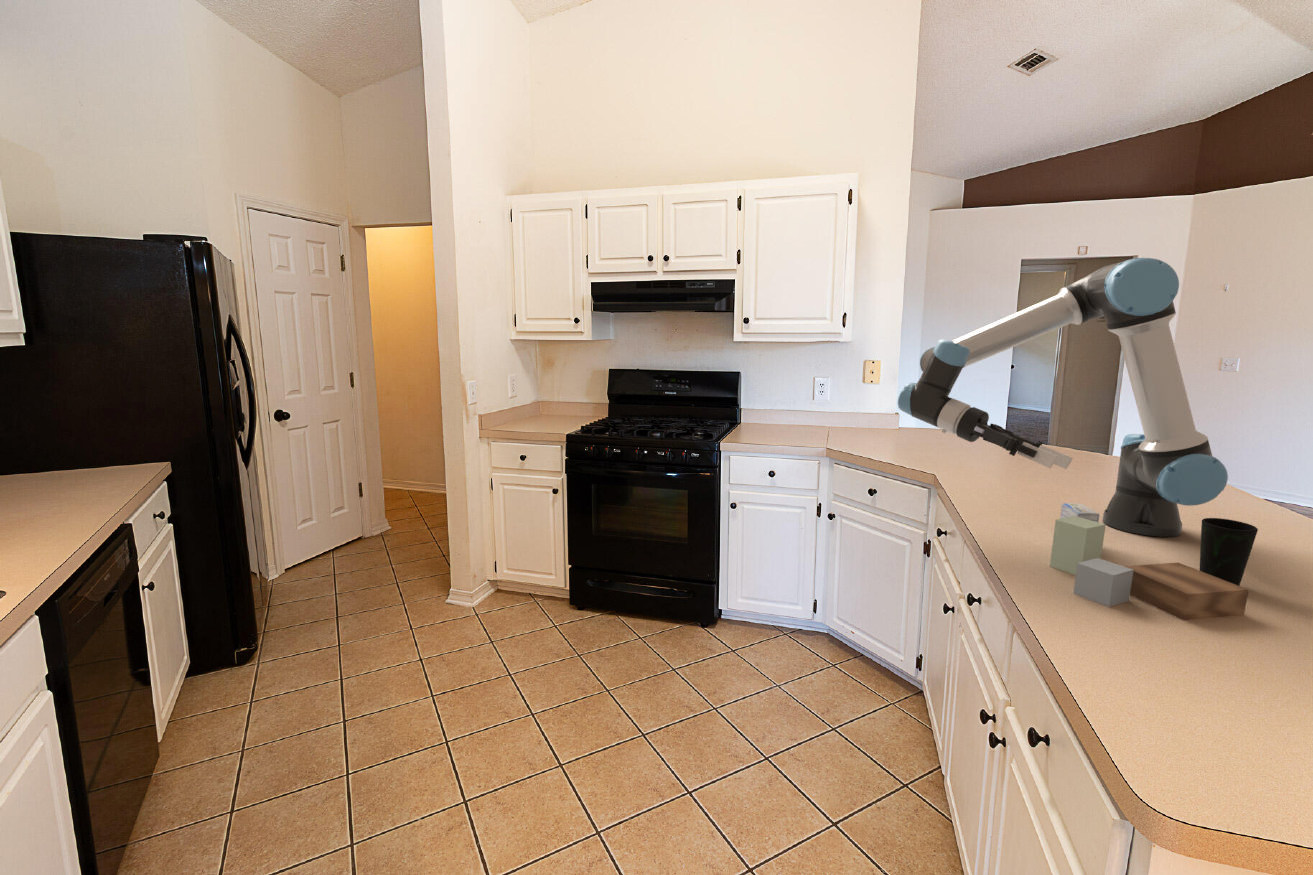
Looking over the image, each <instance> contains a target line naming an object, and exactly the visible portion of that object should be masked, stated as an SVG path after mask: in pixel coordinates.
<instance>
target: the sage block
mask: <svg viewBox="0 0 1313 875" xmlns="http://www.w3.org/2000/svg"><path fill="white" fill-rule="evenodd" d="M1106 525H1107V524H1105V523H1103V522H1095V521H1091V520H1088V519H1084V518H1080V517H1077V516H1071V517H1066V518H1061V519H1060V518H1057V519H1055V523H1054V530H1053V536H1052V538H1053V539H1052V547H1051V554H1050V555H1051V556H1050V560H1049V561H1050V562H1049V567H1050V568H1054V569H1057V570H1059V571H1062V572H1064V573H1068V574H1071V575H1074V576H1076V570H1077V563H1080V562H1084V561H1088V560H1092V559H1096V558H1099V559H1102V553H1103V548H1104V547H1103V545H1104V539H1105V532H1106V531H1105V530H1106Z"/></svg>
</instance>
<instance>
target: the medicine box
mask: <svg viewBox="0 0 1313 875" xmlns="http://www.w3.org/2000/svg"><path fill="white" fill-rule="evenodd" d="M1071 516H1077V517H1080V518H1084V519H1088V520H1091V521H1095V522H1099V521H1100V514H1099V513H1098V512H1097V511H1095V510H1094V509H1092V508H1090V507H1088V506H1087V505H1085V504H1082V503H1075V502H1073V503H1072V502H1069V503H1067V502H1065V503H1061V507H1060V517H1059V519H1061V518H1066V517H1071ZM1099 523H1100V522H1099Z"/></svg>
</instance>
